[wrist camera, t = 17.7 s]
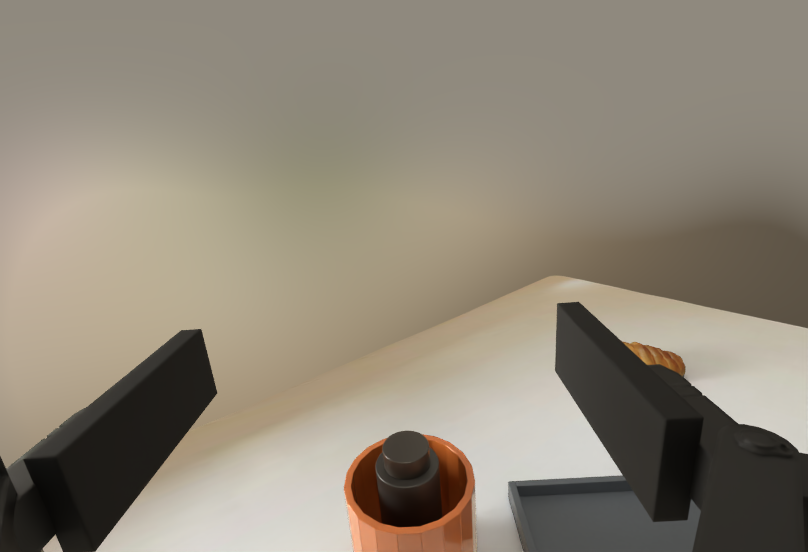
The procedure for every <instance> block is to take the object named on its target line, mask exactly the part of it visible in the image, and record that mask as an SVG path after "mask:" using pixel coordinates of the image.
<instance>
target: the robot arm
mask: <svg viewBox="0 0 808 552" xmlns="http://www.w3.org/2000/svg"><path fill="white" fill-rule="evenodd" d="M555 371H556V373H557V374H558V376H559V377H560V379H561V381H562V382H563V384H564V385H565V387H566V388H567V390H568V391H569V393H570V394H571V396H572V397H573V399H574V401H575V402H576V404H577V405H578V407H579V408H580V410H581V411H582V413H583V414H584V416H585V418H586V419H587V421H588V422H589V424H590V425H591V427H592V428H593V430H594V431H595V433H596V434H597V436H598V438H599V439H600V441H601V442H602V444H603V445H604V447H605V448H606V450H607V451H608V453H609V454H610V456H611V458H612V459H613V461H614V462H615V464H616V465H617V467H618V468H619V470H620V471H621V473H622V475H623V476H624V478H625V479H626V481H627V482H628V484H629V485H630V487H631V488H632V490H633V491H634V493H635V495H636V496H637V498H638V499H639V501H640V502H641V504H642V505H643V507H644V508H645V510H646V511H647V513H648V515H649V516H650V518H651V519H652V521H653V522H664V521H683V520H688V515H689V509H690V502H691V499H692V500H693V502H694V503H695V504H696V505H697V507H698V508H699V509H700V510H701V513H700V518H699V522H698V527H697V531H696V536H695V541H694V545H693V550H692V552H808V454H803V453H799V452H798V450H797V449H796V448H795V447H794V446H793V445H792V444H791V443H790V442H789V441H787V440H786V439H784V438H782V437H780V436H779V435H777V434H775V433H773V432H770V431H767V430H765V429H762V428H759V427H754V426H749V425H745V424H738V423H737V422H735V421H734V420H733V419H732V418H731V417H730V416H728V415H727V414H726V413H725V412H724V411H722V410H721V409H720V408H719V407H718V406H717V405H715V404H714V403H713V402H712V401H711V400H709V399H708V398H707V397H706V396H703V395H702V393H701V392H700V391H699V390H698V389H696V388H695V387H694V386H691V383H689V382H688V381H687V380H686V379H685V378H683V377H682V376H681V375H680V374H679V373H677V372H675V371H673V370H671V369H669V368H667V367H665V366H663V365H660V364H655V365H647V364H646V363H644V362H643V361H642V360H641V359H640V358H639V357H638V356H637V355H636V354H635V353H634V352H633V351H631V350H630V349H629V348H628V347H627V346H626V345H625V344H624V343H623V342H622V341H621V340H619V339H618V338H617V337H616V336H615V335H614V334H613V333H612V332H611V331H610V330H609V329H608V328H606V327H605V326H604V325H603V324H602V323H601V322H600V321H599V320H598V319H597V318H596V317H595V316H593V315H592V314H591V313H590V312H589V311H588V310H587V309H586V308H585V307H584V306H583V305H582V304H580V303H579V302H571V303H557V330H556V362H555ZM216 394H217V390H216V386H215V383H214V378H213V374H212V370H211V366H210V362H209V358H208V354H207V350H206V347H205V342H204V338H203V334H202V330H201V329H196V330H181V331H180V332H179V333H178V334H176V335H175V336H174V337H172V338H171V339H170V340H169V341H168V342H166V343H165V344H164V345H163V346H161V347H160V348H159V349H158V350H157V351H155V352H154V353H153V354H152V355H150V356H149V357H148V358H147V359H146V360H144V361H143V362H142V363H141V364H139V365H138V366H137V367H136V368H135V369H133V370H132V371H131V372H130V373H128V374H127V375H126V376H125V377H123V378H122V379H121V380H120V381H119V382H117V383H116V384H115V385H114V386H112V387H111V388H110V389H109V390H107V391H106V392H105V393H104V394H103V395H101V396H100V397H99V398H98V399H96V400H95V401H94V402H93V403H91V404H90V405H89V406H88V407H86V408H84V409H82V410H80V411H79V412H77V413H75V414H74V415H72V416H71V417H70V418H69V419H68V420H66V421H65V422H64V423H63V424H61V425H60V426H59V428H57V429H55V430H54V431H53V432H51V433H50V434H49V435H48V436H47V438H46V439H43V440H41V441H40V442H39V443H38V444H36V445H35V446H34V447H33V448H31V449H30V450H29V451H28V452H26V453H25V454H24V455H23V456H21V457H20V458H19V459H18V460H17V461H15V462H14V463H13V464H12V465H11V466H9V467H8V468H5V466H4V463H3V461H2V459H1V457H0V552H44V551H43V549H42V548H43V547H44V546H45V545H46V544H47V543H48V542H49V541H50V540H51V539H52V537H53V536H54V535H55V534H56V536H57V539H58V541H59V543H60V545H61V548H62V550H63V552H95V551H96V550H97V548H98V547H99V546H100V545H101V543H102V542H103V541H104V539H105V538H106V537H107V535H108V534H109V533H110V532H111V530H112V529H113V528H114V526H115V525H116V524H117V522H118V521H119V520H120V519H121V517H122V516H123V515H124V513H125V512H126V511H127V510H128V508H129V507H130V506H131V504H132V503H133V502H134V500H135V499H136V498H137V497H138V495H139V494H140V493H141V491H142V490H143V489H144V488H145V486H146V485H147V484H148V482H149V481H150V480H151V478H152V477H153V476H154V475H155V473H156V472H157V471H158V469H159V468H160V467H161V465H162V464H163V463H164V462H165V460H166V459H167V458H168V456H169V455H170V454H171V453H172V451H173V450H174V449H175V447H176V446H177V445H178V443H179V442H180V441H181V440H182V438H183V437H184V436H185V434H186V433H187V432H188V431H189V429H190V428H191V427H192V425H193V424H194V423H195V421H196V420H197V419H198V418H199V416H200V415H201V414H202V412H203V411H204V410H205V408H206V407H207V406H208V405H209V403H210V402H211V401H212V399H213V398H214V397H215V395H216Z"/></svg>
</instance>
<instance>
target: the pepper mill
mask: <svg viewBox="0 0 808 552" xmlns="http://www.w3.org/2000/svg"><path fill="white" fill-rule="evenodd" d="M376 477H377V485H378V494H379V502H380V511H381V519H382V524H386V525H391V526H395V527H417V526H422V525H425V524H428V523H431V522H434V521H437V520H439V519H441V518H442V502H441V486H440V470H439V459H438V456H437V455H436V453H435V452H434V450H433V449H431V448H430V447H429V442H428V440H427V439H426V437H425V436H423V435H422V434H420V433H418V432H414V431H401V432H397V433H395V434H392V435H391V436H389V437H388V438H387V439H386V440H385V442H384V444H383V447H382V453H381V454H380V455H379V457H378V459H377V461H376Z"/></svg>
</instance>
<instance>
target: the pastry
mask: <svg viewBox="0 0 808 552" xmlns="http://www.w3.org/2000/svg"><path fill="white" fill-rule="evenodd" d="M623 343H624V344H625V345H626V346H627V347H628V348H629V349H630V350H631V351H633V352H634V353H635V354H636V355H637V356H638V357H639V358H640V359H641V360H642V361H643V362H644V363H646V364H647V365H655V364H660V365H663V366H665V367H667V368H669V369H671V370H673V371H675V372H677V373H679V374H680V375H681V376H683V375H684V374H685V365H684V363H683V360H682V358H681V357H680V356H678V355H676V354H674V353H672V352H669V351H662V350H661V349H659V348H655V347H652V346H649V345H642V344H640V343H637V342H632V343H631V344H629V343H626V342H623Z"/></svg>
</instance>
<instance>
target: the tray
mask: <svg viewBox="0 0 808 552" xmlns="http://www.w3.org/2000/svg"><path fill="white" fill-rule="evenodd" d="M508 492H509V493H508V497H509V500H510V504H511V507H512V511H513V514H514V518H515V521H516V525H517V528H518V532H519V535H520V539H521V543H522V546H523V550H524V552H692V550H693V545H694V541H695V536H696V531H697V527H698V522H699V518H700V513H701V510H700V509H699V508H698V507H697V505H696V504H695V503H694V502H693V500H692V499H691V502H690V509H689V515H688V520H683V521H664V522H653V521H652V519H651V518H650V516H649V515H648V513H647V511H646V510H645V508H644V507H643V505H642V504H641V502H640V501H639V499H638V498H637V496H636V495H635V493H634V491H633V490H632V488H631V487H630V485H629V484H628V482H627V481H626V479H625V478H624V476H605V477H586V478H567V479H548V480H529V481H512V482H508Z"/></svg>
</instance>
